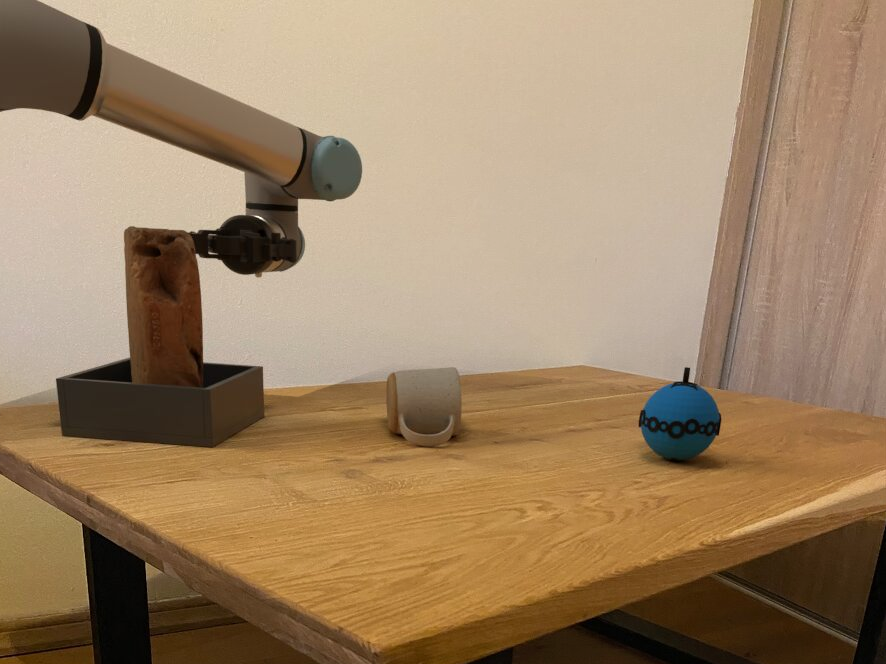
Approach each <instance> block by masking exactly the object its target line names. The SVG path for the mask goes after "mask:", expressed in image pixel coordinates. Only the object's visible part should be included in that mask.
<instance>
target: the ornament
mask: <svg viewBox="0 0 886 664" xmlns="http://www.w3.org/2000/svg"><path fill="white" fill-rule="evenodd" d="M690 374H691V367H687V366H685V367H684V370H683V377H682V381H680V380H678V381H674V382H673V383H669V384H666V385H664V386H662V387H661V388H659V389H657V390H656V391H655V392H654V393H652V395H651V396H649V398H648V400H647V401H646V403H645V404H644V406H643V409H641V410H640V414H639V417H638V428H640V430H641V434H642V436H643V439H644V441H645V443H646V444H647V446H648V447H649V449H650V450H652V451H653V452H654V453H655V454H656V455H658V456H660V457H661V458H663V459H665V460H668V461H671V462H683V461H686V460H691V459H694V458H696V457H698V456H699V455H701V454H702V453H704V452H705V451H706V450H707V449H708V448H709V447H710V446H711V445H712V443H713V442H714V440H715V439H716V437H719V436H720V433H721V432H720V431H721V426H722V414H721V413H720V410H719V408H718V405H717V402H716V401H715V399H714V398H713V396H712V395H711V394H710V393H709V392H708V391H707V390H706V389H704V388H703V387H701V386H700V385H698V383H695V382H691V381H690Z"/></svg>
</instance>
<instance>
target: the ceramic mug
mask: <svg viewBox="0 0 886 664" xmlns="http://www.w3.org/2000/svg"><path fill="white" fill-rule="evenodd" d="M385 396H386V417H387V425H388V429H389V430H390V431H391V432H392V433H393V434H397V435H402V436H403V437H404V439H405V440H406V441H407V442H409V443H411V444H412V445H416V446H420V447H427V448H428V447H437V446H441V445H443V444H445V443H446V442H448V441H449V440H450V439H451V438H452V437H456V436H458V435H459V433H460V430H461V424H462V423H461V422H462V407H463V406H462V405H463V404H462V402H463V401H462V386H461V379H460V374H459V371H458V369H457V368H456V367H453V366H451V367H450V366H449V367H439V368H438V367H435V368H421V369H404V370H397V371H394V372H391V373H390V374H389V375H388V376H387V377H386V395H385Z"/></svg>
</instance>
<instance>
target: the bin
mask: <svg viewBox="0 0 886 664" xmlns="http://www.w3.org/2000/svg"><path fill="white" fill-rule="evenodd" d="M55 384H56V394H57V401H58V411H59V421H60V430H61V436H63V437H74V438H75V437H76V438H87V439H89V438H90V439H101V440H113V441H126V442H138V443H149V444H150V443H151V444H163V443H164V445H176V446H177V445H178V446H188V447H189V446H190V447H201V446H202V447H201V448H214V447H215V445H216V446H218V445H219V444H221V443H223V442H224V441H226V440H228V439H229V438H231V437H233V436H234V435H236V434H238V433H239V432H240V430H241V431H242V430H244V429H246V428H247V427H249V426H250V424H251V425H253V424H254V423H255V421H256V422H258V421H259V420H260V418H261V419H263V418H264V417H265V395H264V394H265V393H264V391H265V390H264V366H262V365H249V364H248V365H246V364H233V363H232V364H231V363H217V362H205V361H203V388H199V387H185V386H171V385H158V384H144V383H132V375H131V362H130V357H127V358H122V359H119V360H116V361H112V362H108V363H105V364H102V365H99V366H94V367H92V368H91V367H90V368H88V369H84V370H81V371H78V372H77V371H76V372H74V373H70V374H67V375H64V376H60V377H56V378H55ZM245 427H246V428H245ZM243 428H244V429H243ZM235 433H236V434H235ZM233 434H234V435H233ZM230 436H231V437H230ZM228 437H229V438H228ZM225 439H226V440H225ZM204 446H205V447H204Z"/></svg>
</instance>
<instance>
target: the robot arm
mask: <svg viewBox="0 0 886 664" xmlns="http://www.w3.org/2000/svg"><path fill="white" fill-rule="evenodd" d="M16 109H18V110H19V109H27V110H28V109H29V110H41V111H46V112H51V113H56V114H60V115H62V116H65V117H68V118H71V119H73V120H76V121H79V122H83V121H84V120H86V119H88V118H89V117H90V118H91V117H92V116H93V117H95V118H98V119H101V120H103V121H106V122H109V123H111V124H114V125H116V126H120V127H122V128H125V129H127V130H130V131H133V132H135V133H138V134H141V135H144V136H146V137H148V138H151V139H155V140H156V141H160V142H161V143H164V144H168V145H170V146H172V147H176V148H178V149H181V150H184V151H186V152H189V153H192V154H195V155H198V156H200V157H202V158H205V159H208V160H211V161H214V162H216V163H219V164H222V165H224V166H227V167H229V168H233V169H235V170H238V171H241V172H243V173H244V192H245V193H244V194H245V195H244V196H245V214H237V215H233V216H230V217H229V218H227V219H226V220H225V221H223V223H221V225H220V227H219V228H216V229H199V230H198V231H197V232H196V231H195V230H194V231H192V230H191V231H189V232H187V231H186V232H187V233H189V234H190V235H191V237H192V239H193V242H194V246H195V252H196V255H198V256H199V258H201V259H213V260H214V259H216V260H218V261H221V263H223V265H224V266H225V267H226V268H227V269H229V270H230V271H232V272H234V273H235V274H238V275H243V276H250V275H254V277H255V278H262V276H263V273H275V272H280V273H282V272H285V271H288V270H290V269H292V268H294V267H295V266H296V265H297V264H298V263H300V261H301V260H302V258H303V257H304V254H305V250H306V239H305V236H304V232H303V231H302V229H301V227H300V226H299V200H314V201H315V200H317V201H326V202H334V201H338V200H344V199H347V198H349V197H351V196H352V195H353V194H354V193H355V192H356V191H357V190H358V188H359V186H360V184H361V180H362V179H363V177H362V176H363V163H362V159H361V155H360V153H359V151H358V150H357V148H356V146H355V145H354V144H353V143H352V142H351V141H349V140H347V139H345V138H343V137H340V136H339V137H338V136H334V135H325V136H321V135H318V134H316V133H313V132H312V131H309V130H306V129H305V128H302V127H299V126H298V125H297V126H296V125H294V124H293V123H290V122H288V121H286V120H284V119H281V118H279V117H277V116H274V115H272V114H270V113H267V112H265V111H263V110H260V109H259V108H256V107H253V106H251V105H249V104H247V103H244V102H242V101H240V100H238V99H235V98H233V97H231V96H228V95H226V94H224V93H222V92H220V91H217V90H215V89H212V88H210V87H208V86H205V85H203V84H202V83H199V82H197V81H194V80H192V79H189V78H187V77H185V76H183V75H180V74H178V73H176V72H174V71H171V70H169V69H167V68H164V67H163V66H160V65H157V64H155V63H153V62H151V61H148V60H146V59H144V58H142V57H139V56H138V55H135V54H132V53H130V52H128V51H126V50H124V49H122V48H119V47H116V46H115V45H112V44H110V43H108V42H107V41H106V39H105V37H104V35H103V33H102V31H101V30H100V29H99V28H98V27H96V26H94V25H92V24H90V23H87V22H85V21H83V20H81V19H78V18H76V17H75V16H72V15H70V14H67V13H66V12H63V11H61V10H59V9H57V8H54V7H53V6H52V5H51V6H50V5H49V4H47V3H44V2H42V1H40V0H0V113H2V112H5V111H11V110H16Z"/></svg>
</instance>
